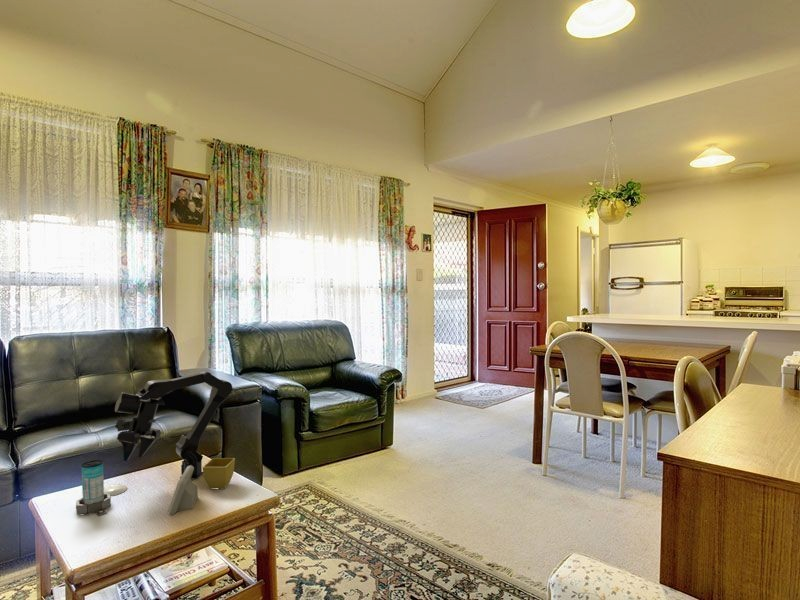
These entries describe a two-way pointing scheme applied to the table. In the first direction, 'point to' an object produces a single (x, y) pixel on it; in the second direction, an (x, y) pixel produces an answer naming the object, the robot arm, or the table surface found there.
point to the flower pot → (218, 472)
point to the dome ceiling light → (115, 489)
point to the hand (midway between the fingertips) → (132, 458)
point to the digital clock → (184, 492)
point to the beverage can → (92, 482)
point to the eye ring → (94, 506)
